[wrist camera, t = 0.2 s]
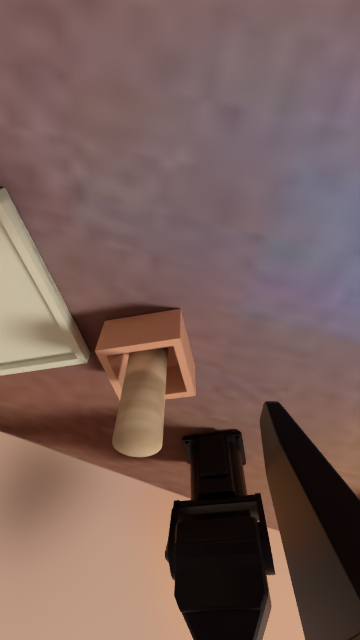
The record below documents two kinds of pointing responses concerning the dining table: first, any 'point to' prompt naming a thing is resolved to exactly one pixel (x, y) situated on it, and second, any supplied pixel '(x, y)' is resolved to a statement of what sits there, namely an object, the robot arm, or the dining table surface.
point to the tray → (31, 305)
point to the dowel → (142, 404)
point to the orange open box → (143, 336)
